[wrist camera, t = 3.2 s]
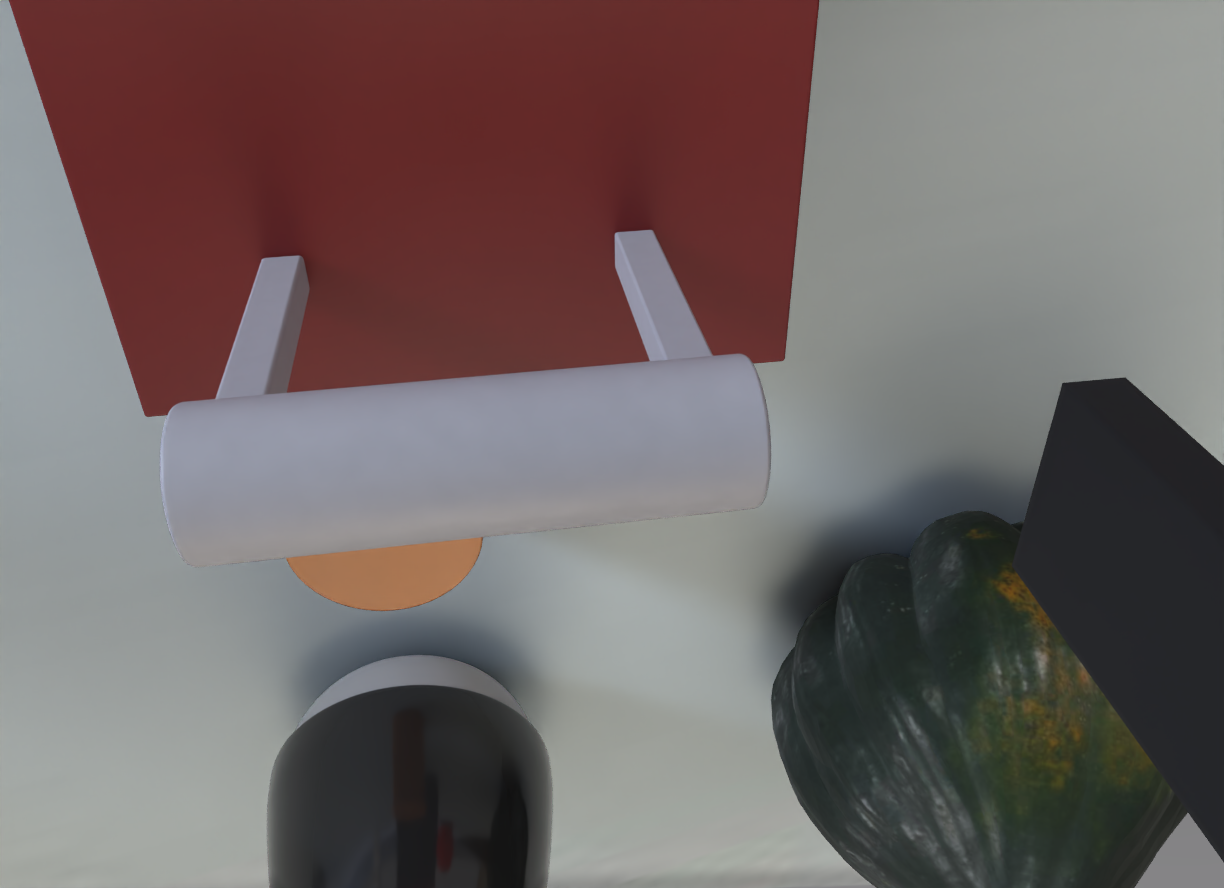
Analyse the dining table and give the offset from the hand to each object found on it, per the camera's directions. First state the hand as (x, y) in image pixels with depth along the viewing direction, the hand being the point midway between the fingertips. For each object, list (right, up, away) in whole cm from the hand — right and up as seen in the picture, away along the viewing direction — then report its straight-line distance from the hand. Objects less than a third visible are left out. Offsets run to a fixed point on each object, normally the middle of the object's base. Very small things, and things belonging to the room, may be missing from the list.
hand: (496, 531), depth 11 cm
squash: (+14, -6, +31) cm, 34 cm away
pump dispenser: (-7, -10, +29) cm, 32 cm away
